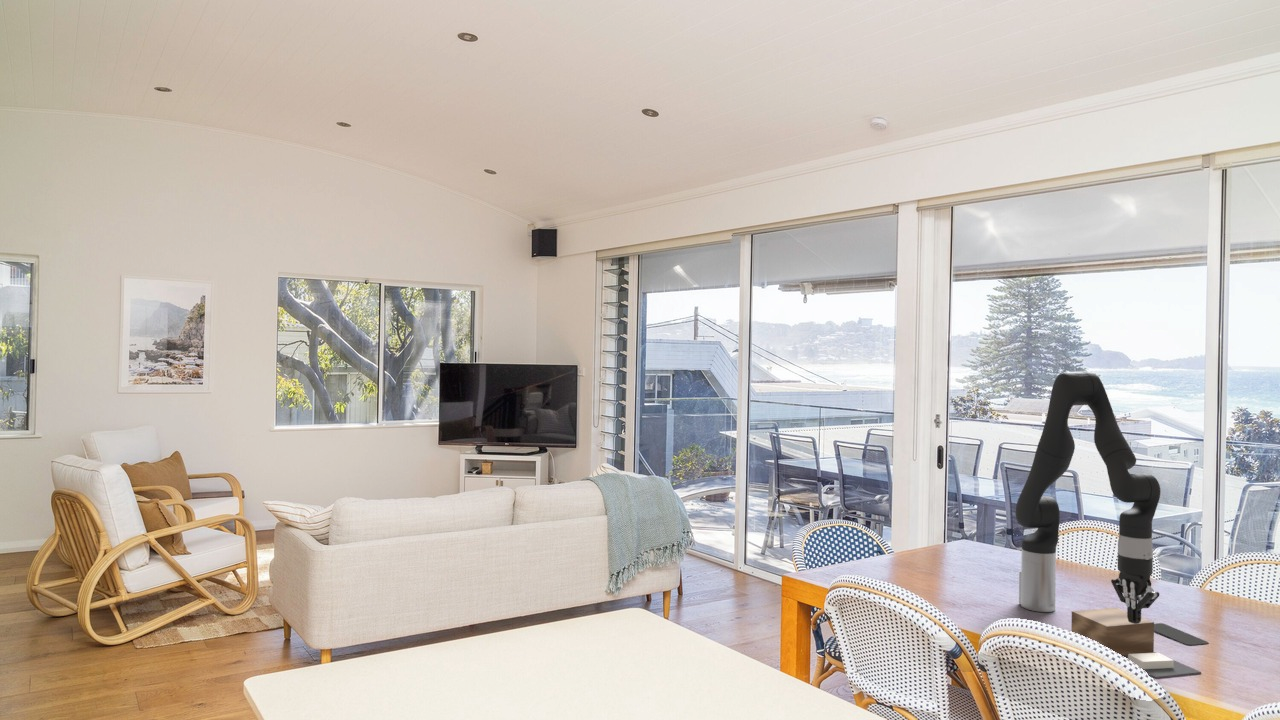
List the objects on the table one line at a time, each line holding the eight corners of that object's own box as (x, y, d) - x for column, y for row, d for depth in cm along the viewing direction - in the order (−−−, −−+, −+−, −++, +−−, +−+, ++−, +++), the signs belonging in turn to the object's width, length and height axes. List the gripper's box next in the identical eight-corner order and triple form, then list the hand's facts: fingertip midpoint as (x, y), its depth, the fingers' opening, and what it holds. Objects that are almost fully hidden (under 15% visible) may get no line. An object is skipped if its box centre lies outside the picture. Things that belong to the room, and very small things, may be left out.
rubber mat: (1112, 657, 204) (1112, 656, 204) (1155, 653, 207) (1155, 652, 207) (1155, 678, 191) (1155, 676, 191) (1201, 673, 194) (1201, 671, 194)
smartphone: (1187, 644, 212) (1140, 624, 227) (1187, 648, 212) (1140, 627, 227) (1211, 642, 214) (1162, 622, 228) (1210, 646, 214) (1162, 625, 229)
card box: (1142, 661, 195) (1142, 670, 195) (1173, 660, 196) (1173, 668, 196) (1128, 653, 200) (1128, 662, 200) (1158, 652, 201) (1157, 660, 201)
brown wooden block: (1071, 641, 215) (1071, 611, 215) (1115, 637, 218) (1116, 607, 218) (1107, 658, 204) (1107, 626, 203) (1153, 653, 207) (1154, 622, 207)
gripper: (1101, 548, 209) (1100, 615, 210) (1144, 561, 196) (1143, 632, 197) (1126, 546, 211) (1125, 613, 211) (1170, 559, 198) (1169, 630, 198)
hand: (1134, 622), depth 204 cm, fingers closed
